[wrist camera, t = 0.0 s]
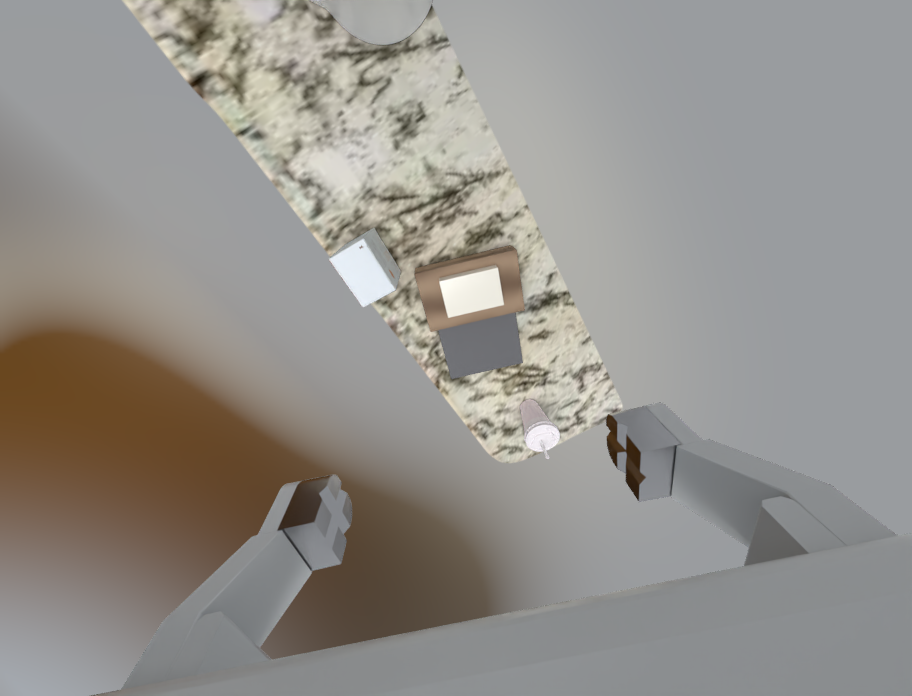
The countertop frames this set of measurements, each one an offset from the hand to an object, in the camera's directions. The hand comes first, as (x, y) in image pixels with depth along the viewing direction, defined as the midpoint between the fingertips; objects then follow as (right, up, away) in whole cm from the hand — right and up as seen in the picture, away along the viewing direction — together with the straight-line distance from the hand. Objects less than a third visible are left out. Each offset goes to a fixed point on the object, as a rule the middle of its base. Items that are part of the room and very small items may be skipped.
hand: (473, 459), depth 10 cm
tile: (+2, +13, +43) cm, 45 cm away
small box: (-14, +18, +44) cm, 49 cm away
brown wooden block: (+2, +14, +47) cm, 49 cm away
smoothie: (+15, -9, +59) cm, 62 cm away
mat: (+4, +4, +52) cm, 52 cm away
